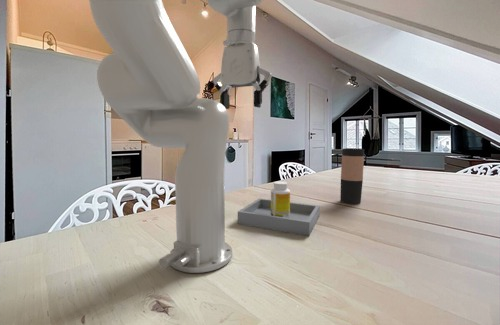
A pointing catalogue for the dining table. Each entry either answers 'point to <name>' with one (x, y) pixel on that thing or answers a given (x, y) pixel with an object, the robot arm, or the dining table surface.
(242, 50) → the robot arm
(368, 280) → the dining table surface
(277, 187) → the supplement bottle
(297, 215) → the tray
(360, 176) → the travel mug
